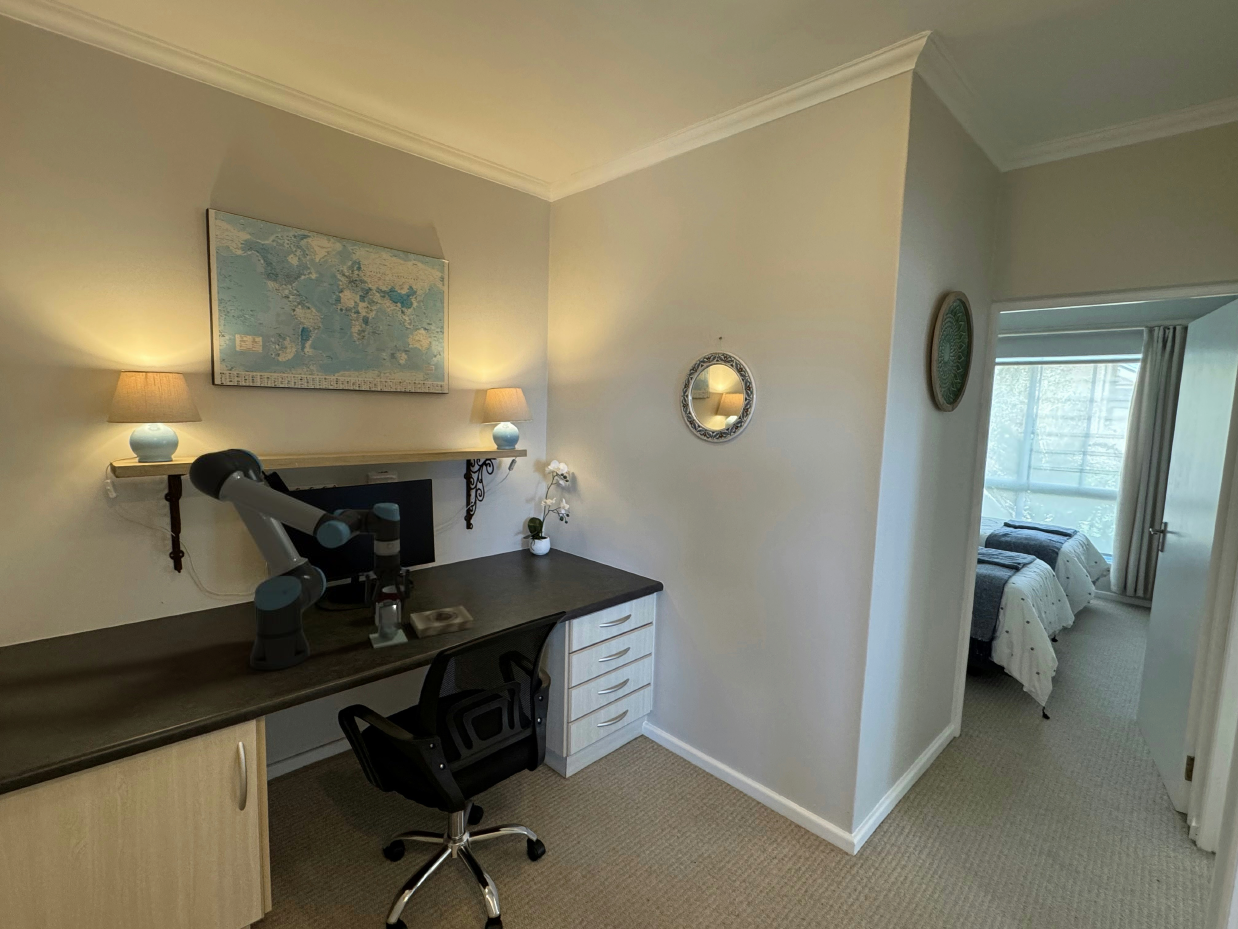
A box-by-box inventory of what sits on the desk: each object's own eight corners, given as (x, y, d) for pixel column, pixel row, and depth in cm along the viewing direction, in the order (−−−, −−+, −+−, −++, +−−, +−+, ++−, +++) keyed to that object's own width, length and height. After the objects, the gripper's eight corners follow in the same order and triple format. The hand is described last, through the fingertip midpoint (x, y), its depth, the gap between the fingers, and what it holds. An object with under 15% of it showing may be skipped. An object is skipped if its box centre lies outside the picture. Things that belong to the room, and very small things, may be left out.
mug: (378, 623, 198) (377, 595, 196) (372, 616, 204) (371, 589, 203) (409, 617, 204) (409, 590, 203) (402, 610, 210) (402, 583, 209)
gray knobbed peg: (379, 639, 181) (379, 606, 180) (376, 632, 187) (376, 599, 185) (399, 636, 185) (399, 603, 183) (396, 629, 190) (395, 597, 188)
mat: (374, 648, 179) (374, 646, 179) (369, 636, 187) (369, 634, 187) (407, 642, 184) (407, 640, 184) (401, 631, 193) (401, 629, 193)
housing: (419, 637, 188) (419, 629, 188) (410, 622, 200) (410, 614, 199) (473, 627, 197) (473, 619, 197) (461, 613, 209) (461, 605, 209)
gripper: (356, 558, 174) (357, 631, 177) (420, 551, 184) (421, 621, 187) (352, 552, 180) (354, 623, 183) (415, 546, 190) (416, 613, 193)
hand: (388, 622), depth 185 cm, fingers closed on gray knobbed peg, 6 cm apart
